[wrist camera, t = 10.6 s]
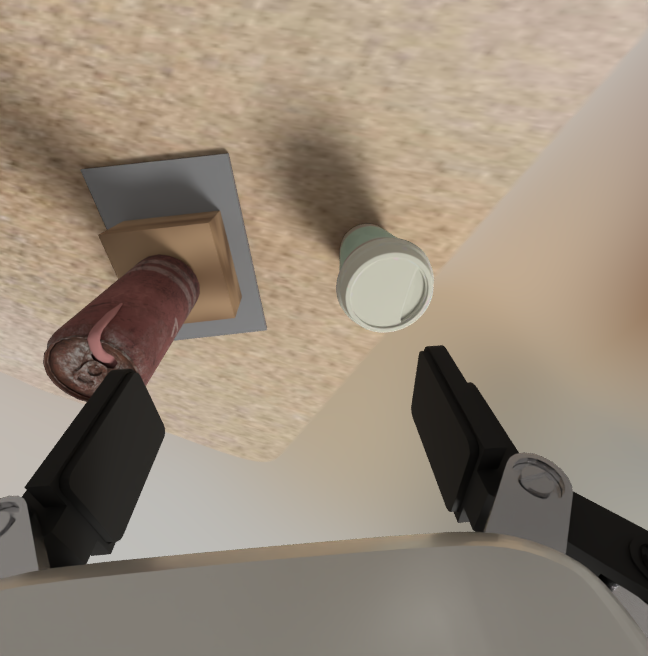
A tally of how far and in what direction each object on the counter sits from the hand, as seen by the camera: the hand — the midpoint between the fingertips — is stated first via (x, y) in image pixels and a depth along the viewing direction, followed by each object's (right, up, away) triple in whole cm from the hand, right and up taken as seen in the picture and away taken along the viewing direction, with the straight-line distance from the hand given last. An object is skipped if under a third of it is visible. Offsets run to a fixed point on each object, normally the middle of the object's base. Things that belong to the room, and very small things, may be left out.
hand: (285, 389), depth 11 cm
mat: (-14, +10, +26) cm, 31 cm away
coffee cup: (+6, +11, +26) cm, 29 cm away
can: (-14, +7, +21) cm, 26 cm away
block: (-14, +9, +25) cm, 30 cm away
